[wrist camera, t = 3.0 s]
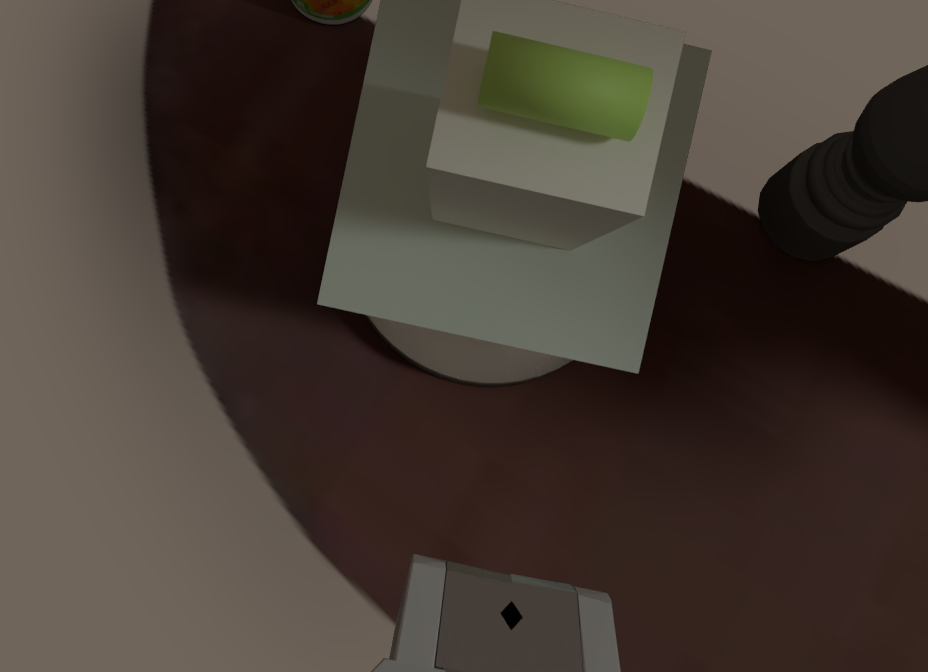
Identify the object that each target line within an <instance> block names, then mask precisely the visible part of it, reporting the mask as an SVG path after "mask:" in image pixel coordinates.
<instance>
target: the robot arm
mask: <svg viewBox="0 0 928 672" xmlns="http://www.w3.org/2000/svg"><path fill="white" fill-rule="evenodd" d="M371 672H620V665H619V657H618V650H617V642H616V635H615V627H614V620H613V612H612V605H611V600H610V598H609V596H608V594H607V593H605V592H600V591H595V590H589V589H584V588H579V587H573V586H572V585H568V584H563V583H557V582H552V581H546V580H541V579H536V578H530V577H525V576H519V575H514V574H509V575H507V574H502V573H498V572H493V571H489V570H484V569H480V568H476V567H471V566H467V565H462V564H458V563H454V562H449V561H447V562H446V561H445V560H440V559H435V558H430V557H426V556H421V555H416V554H413V556H412V559H411V563H410V567H409V571H408V575H407V579H406V583H405V588H404V592H403V596H402V600H401V604H400V609H399V613H398V618H397V622H396V626H395V631H394V637H393V642H392V647H391V652H390V658H389V659H386V658H384V659H383V660H382V661H381V662H380V663H379V664H378V665H377V666H376V667H375V669H373V670H372V671H371Z"/></svg>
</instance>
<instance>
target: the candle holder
mask: <svg viewBox="0 0 928 672" xmlns="http://www.w3.org/2000/svg"><path fill="white" fill-rule="evenodd" d="M907 201H911V202H924V201H928V65H927V66H925V67H923V68H920V69H918V70H916V71H914V72H912V73H909V74H907V75H905V76H903V77H901V78H899V79H897V80H896V81H894V82H892V83H891V84H889V85H888V86H886V87H884V88H883V89H881V90H880V91H879V92H878V93H876V94H875V95H874V96H873V97H872V98H871V100H870V101H869V102H868V104H867V105H866V107H865V109H864V110H863V112H862V114H861V115H860V117H859V119H858V120H857V122H856V125H855V129H854V131H851V132H844V133H837V134H834V135H833V136H831V137H830V138H828V139H827V140H825V141H824V142H822V143H816V144H815V145H813V146H812V147H810V148H809V149H807V150H805V151H804V152H802V153H800V154H799V155H798V156H797V157H795V158H794V159H793V160H792V161H790V162H789V163H788V164H787V165H785V166H784V167H783V168H782V169H780V170H779V171H778V172H777V173H775V174H774V175H773V176H772V177H770V178H769V180H768V181H767V183H766V184H765V186H764V187H763V189H762V191H761V192H760V198H759V206H758V213H759V217H760V220H761V224H762V228H763V230H764V231H765V233H766V234H767V236H768V237H769V238H770V240H771V241H772V242H773V244H774V245H775V246H776V247H778V248H779V249H781V250H782V251H784V252H785V253H787V254H788V255H790V256H791V257H794V258H799V259H803V260H807V261H816V260H823V259H829V258H831V257H833V256H835V255H837V254H839V253H841V252H843V251H845V250H847V249H849V248H851V247H853V246H855V245H857V244H859V243H861V242H863V241H865V240H867V239H868V238H870V237H871V236H873V235H874V234H876V233H877V232H878V231H880V230H882V229H883V227H884V225H886V224H888V223H889V222H890V221H892V220H893V219H895V218H897V217H898V216H899V215H900V213H901V212H902V210H903V208H904V206H905V204H906V203H907Z"/></svg>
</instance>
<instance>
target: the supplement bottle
mask: <svg viewBox="0 0 928 672" xmlns="http://www.w3.org/2000/svg"><path fill="white" fill-rule="evenodd" d="M291 1H292V2H293V4H294V5H295V7H296V8H297V9H298V10H299V11H300V12H301V13H302V14H303V15H304V16H306V17H307V18H309V19H311V20H313V21H316V22H319V23H323V24H332V25H334V24H343V23H347V22H350V21H352V20H354V19H356V18H358V17H359V16H360V15H362V14H363V13H364V12H365V11H366V9H367V8H368V7H369V5H370V4H371V2H372V0H291Z"/></svg>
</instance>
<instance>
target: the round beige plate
mask: <svg viewBox="0 0 928 672" xmlns="http://www.w3.org/2000/svg"><path fill="white" fill-rule="evenodd" d="M366 317H367V319H368V321H369V323H370V324H371V325H372V327H373V328H374V329H375V331H376V332H377V333H378V335H379V336H380V337H381V338H382V339H383V340H384V341H385V342H386V343H387V344H388V345H389V346H390V347H391V349H392V350H393V351H395V352H396V353H397V354H399V355H400V356H401V357H402V358H404V359H405V360H406V361H407V362H409V363H411V364H412V365H414V366H416V367H417V368H419V369H421V370H422V371H424V372H426V373H429V374H431V375H433V376H436V377H438V378H440V379H443V380H447V381H450V382H454V383H457V384H462V385H468V386H475V387H503V386H512V385H518V384H522V383H525V382H529V381H533V380H536V379H538V378H541V377H543V376H546V375H548V374H550V373H552V372H554V371H556V370H557V369H559V368H561V367H563V366H564V365H566V364H568V363H569V362H571V361H572V360H573V359H568V358H563V357H559V356H554V355H549V354H545V353H540V352H536V351H531V350H526V349H522V348H517V347H512V346H508V345H503V344H499V343H494V342H489V341H485V340H480V339H475V338H471V337H466V336H462V335H457V334H452V333H448V332H443V331H438V330H434V329H429V328H425V327H420V326H415V325H411V324H406V323H401V322H397V321H392V320H388V319H383V318H378V317H374V316H369V315H366Z"/></svg>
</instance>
